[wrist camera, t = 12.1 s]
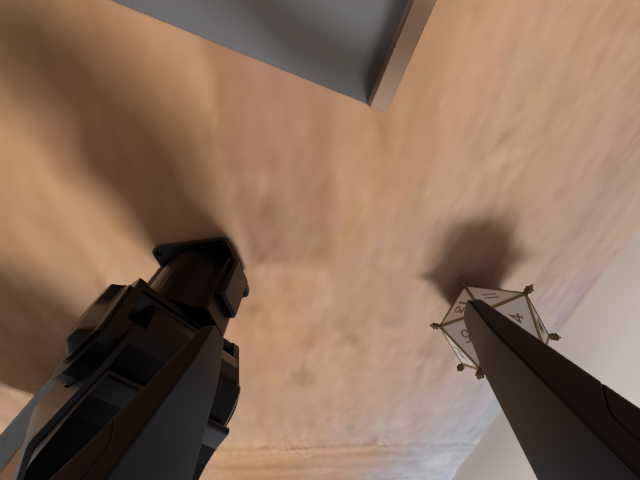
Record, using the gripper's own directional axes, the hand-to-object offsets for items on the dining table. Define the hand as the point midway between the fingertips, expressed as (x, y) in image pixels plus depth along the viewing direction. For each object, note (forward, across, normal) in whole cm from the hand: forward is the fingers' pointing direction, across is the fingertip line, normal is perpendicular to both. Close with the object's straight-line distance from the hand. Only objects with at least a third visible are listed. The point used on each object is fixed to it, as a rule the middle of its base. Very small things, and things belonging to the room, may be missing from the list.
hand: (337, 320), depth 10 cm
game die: (+12, -12, +13) cm, 22 cm away
